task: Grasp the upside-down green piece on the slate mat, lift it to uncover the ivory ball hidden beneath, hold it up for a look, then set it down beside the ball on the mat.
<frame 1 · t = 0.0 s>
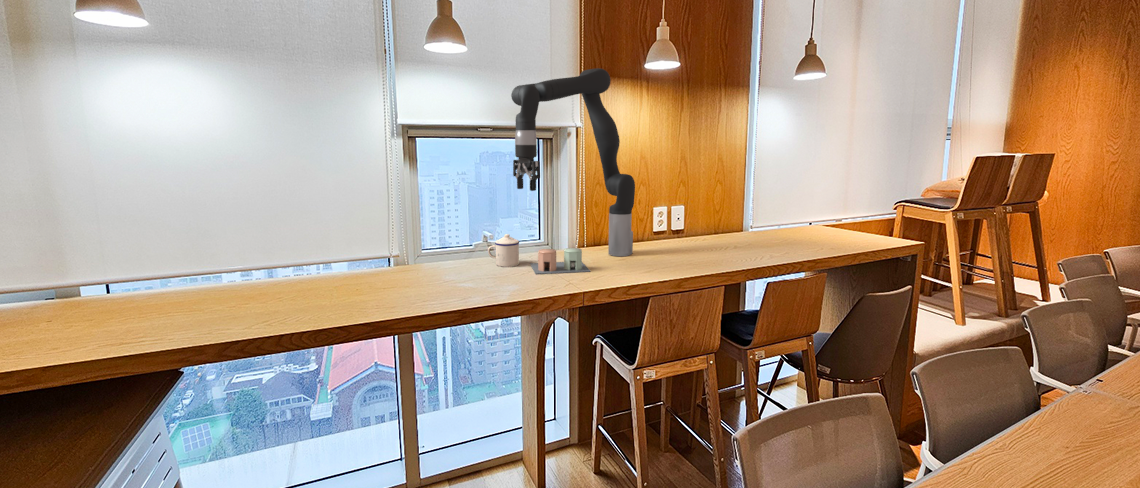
hand: (526, 189, 196), 29 cm above the bar counter, fingers open, 8 cm apart
terracotta cup: (547, 269, 200), resting on slate mat
slate mat: (559, 267, 204), on the bar counter
green piece: (572, 259, 201), on the slate mat
teacup with lid: (503, 264, 209), on the bar counter
ivory ball: (572, 264, 201), in the green piece, touching slate mat
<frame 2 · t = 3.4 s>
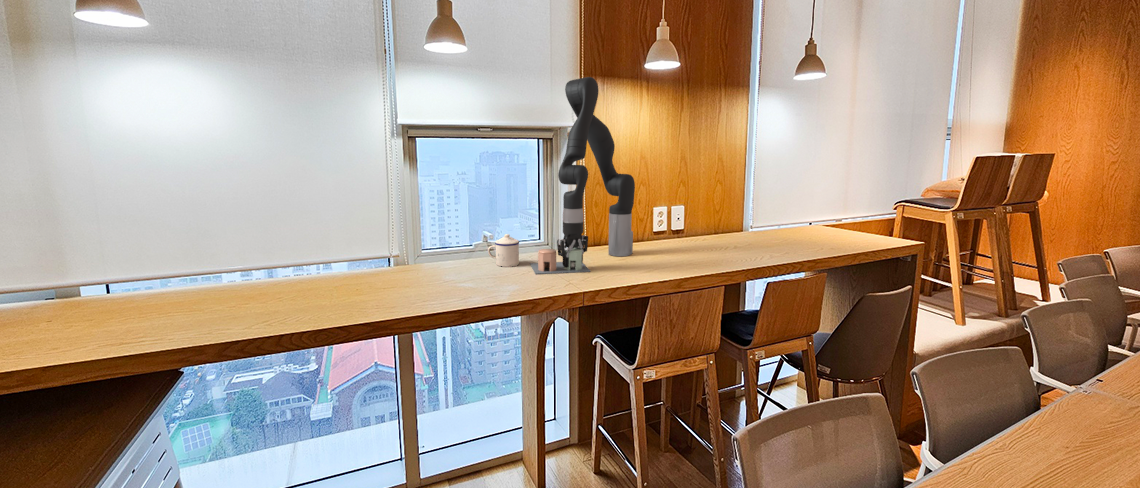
hand: (572, 265, 202), 2 cm above the bar counter, fingers closed on green piece, 6 cm apart
green piece: (572, 259, 201), on the slate mat, touching gripper
everything else where it was.
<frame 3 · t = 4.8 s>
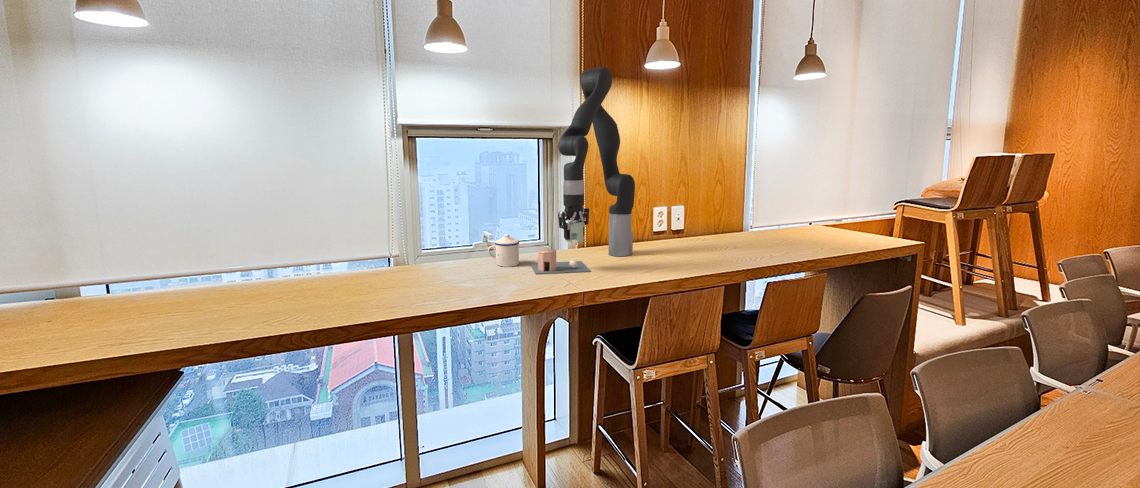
hand: (574, 238, 200), 12 cm above the bar counter, fingers closed on green piece, 6 cm apart
green piece: (574, 231, 199), point 14 cm above the bar counter, touching gripper
everything else where it was.
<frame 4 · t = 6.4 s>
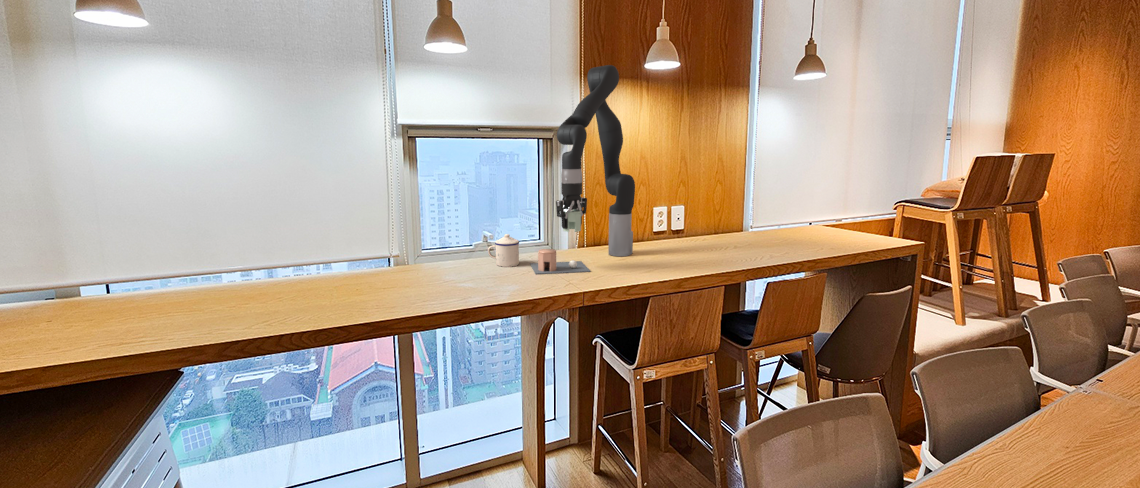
hand: (571, 227, 200), 15 cm above the bar counter, fingers closed on green piece, 6 cm apart
green piece: (571, 220, 200), point 18 cm above the bar counter, touching gripper
everything else where it was.
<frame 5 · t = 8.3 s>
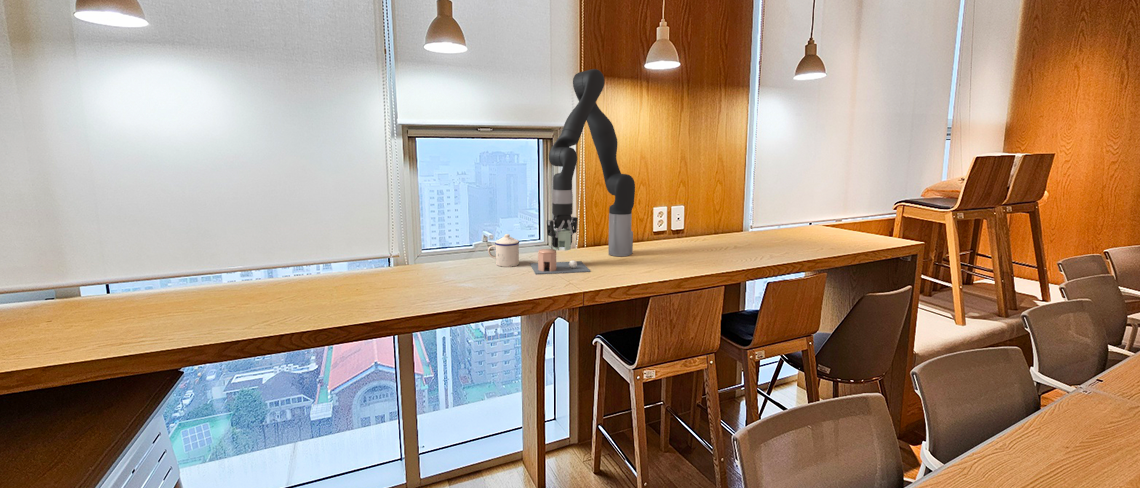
hand: (562, 245, 207), 8 cm above the bar counter, fingers closed on green piece, 6 cm apart
green piece: (562, 239, 206), point 10 cm above the bar counter, touching gripper
everything else where it was.
when the fingers open (3 cm above the bar counter, at t = 9.8 s): green piece drops 1 cm, resting on slate mat.
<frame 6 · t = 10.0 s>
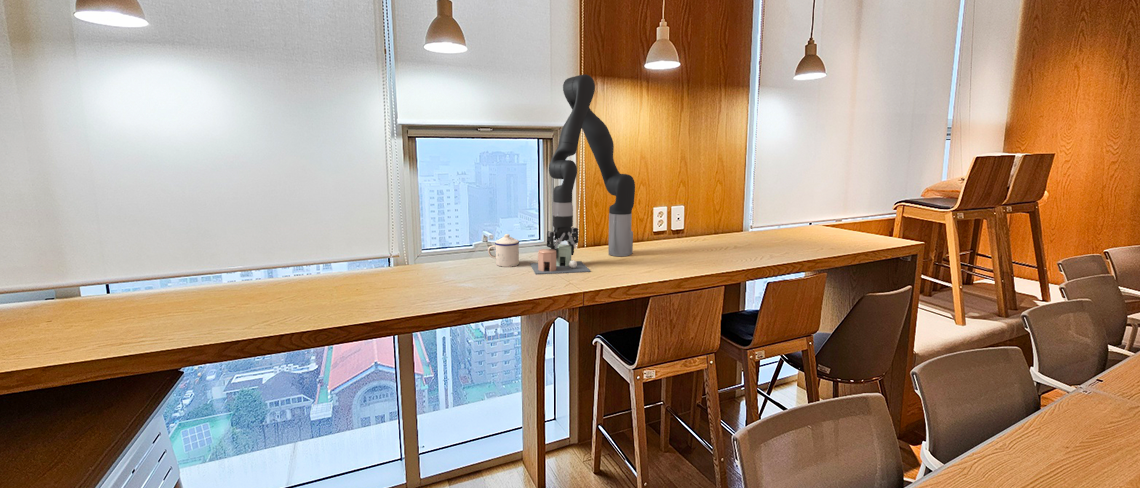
hand: (562, 256, 207), 3 cm above the bar counter, fingers open, 8 cm apart
green piece: (562, 255, 207), on the slate mat
everything else where it was.
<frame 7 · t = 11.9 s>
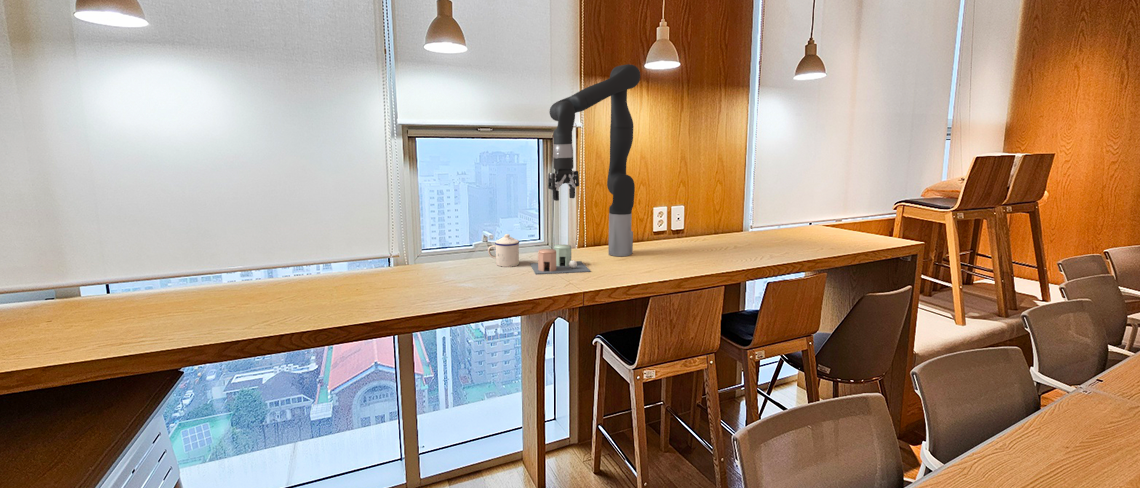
hand: (564, 199, 209), 24 cm above the bar counter, fingers open, 8 cm apart
nothing on the bar counter moved.
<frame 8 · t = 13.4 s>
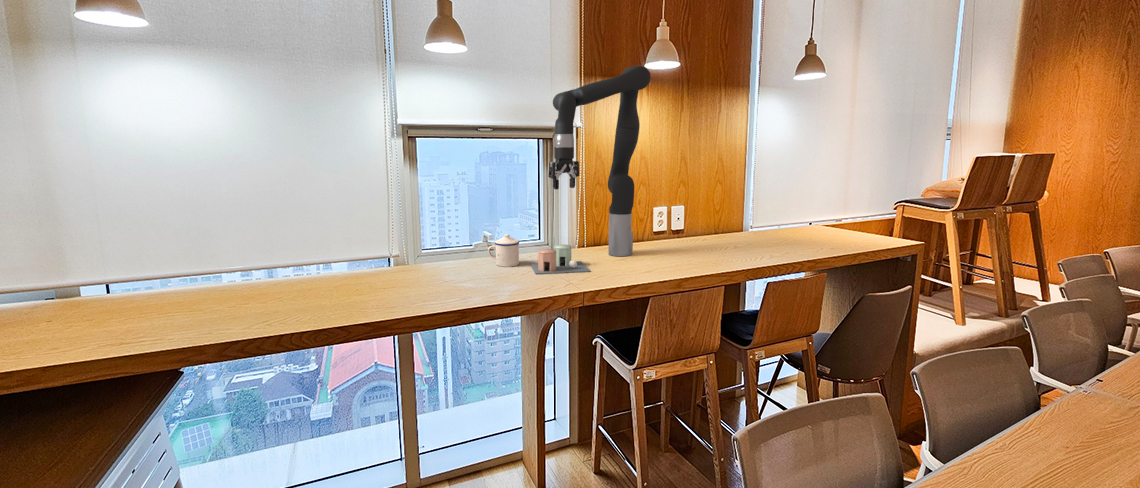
hand: (564, 188, 213), 28 cm above the bar counter, fingers open, 8 cm apart
nothing on the bar counter moved.
at the end: green piece 0.5 cm from the target spot, resting on slate mat; green piece tilted 0°; ivory ball moved 0.0 cm from its start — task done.
